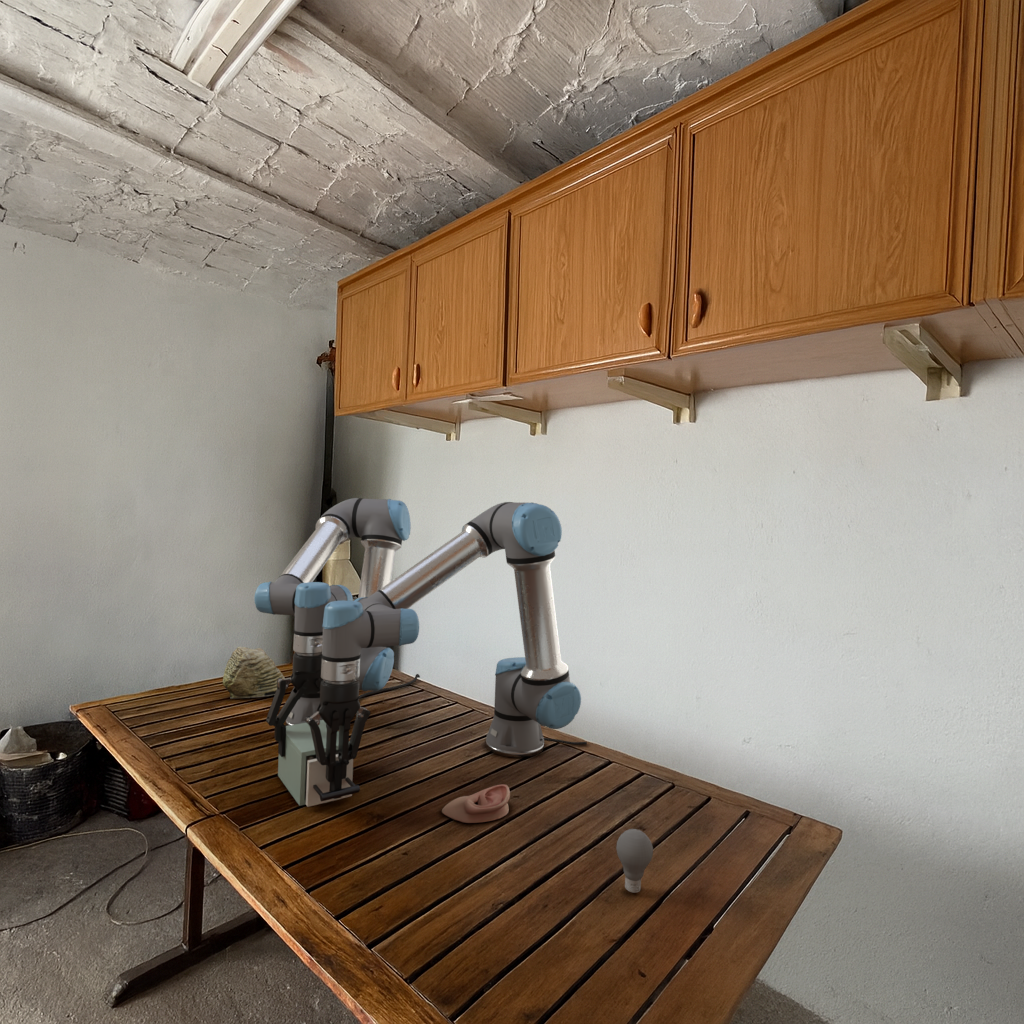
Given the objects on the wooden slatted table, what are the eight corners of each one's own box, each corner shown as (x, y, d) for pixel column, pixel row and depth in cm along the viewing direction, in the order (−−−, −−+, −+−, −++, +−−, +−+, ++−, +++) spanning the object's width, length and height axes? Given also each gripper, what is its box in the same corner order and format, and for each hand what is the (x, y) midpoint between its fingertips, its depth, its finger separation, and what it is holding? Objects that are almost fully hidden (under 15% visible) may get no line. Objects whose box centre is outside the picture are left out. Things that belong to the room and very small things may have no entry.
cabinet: (348, 794, 136) (351, 742, 135) (299, 806, 129) (301, 752, 129) (323, 765, 149) (325, 719, 148) (277, 775, 143) (279, 726, 142)
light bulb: (610, 879, 108) (613, 822, 108) (644, 879, 109) (647, 822, 109) (619, 902, 102) (622, 840, 102) (655, 901, 103) (658, 840, 103)
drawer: (362, 808, 128) (364, 764, 127) (317, 820, 122) (319, 774, 122) (327, 769, 145) (329, 730, 144) (286, 778, 139) (287, 737, 139)
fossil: (218, 695, 195) (220, 647, 195) (278, 685, 208) (279, 640, 207) (228, 703, 189) (230, 653, 188) (289, 692, 201) (290, 645, 201)
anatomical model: (437, 799, 126) (454, 775, 137) (436, 818, 126) (453, 793, 138) (502, 808, 124) (514, 783, 135) (501, 828, 124) (513, 801, 135)
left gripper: (261, 661, 132) (257, 766, 133) (365, 650, 146) (362, 745, 146) (252, 653, 139) (249, 753, 139) (353, 643, 152) (350, 735, 152)
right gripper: (313, 688, 120) (308, 811, 120) (378, 679, 128) (373, 795, 128) (301, 678, 126) (296, 795, 127) (363, 670, 134) (359, 781, 134)
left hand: (307, 749), depth 143 cm, fingers closed on cabinet, 10 cm apart
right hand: (335, 795), depth 127 cm, fingers closed
